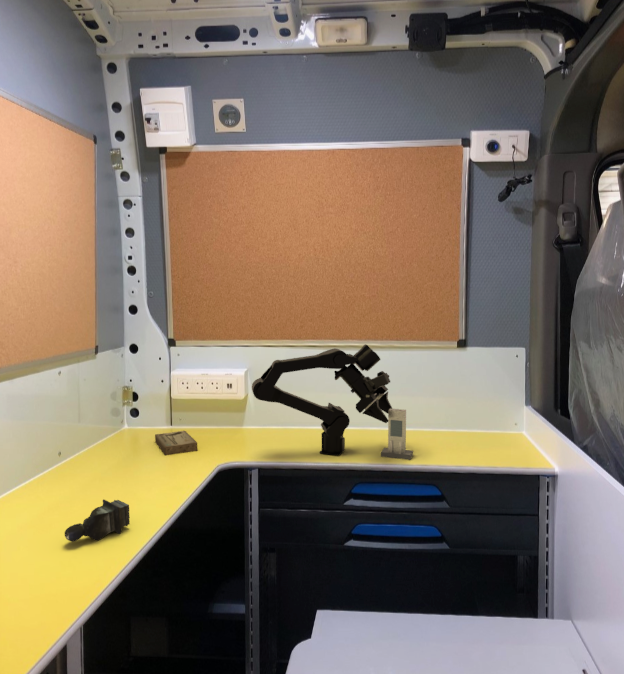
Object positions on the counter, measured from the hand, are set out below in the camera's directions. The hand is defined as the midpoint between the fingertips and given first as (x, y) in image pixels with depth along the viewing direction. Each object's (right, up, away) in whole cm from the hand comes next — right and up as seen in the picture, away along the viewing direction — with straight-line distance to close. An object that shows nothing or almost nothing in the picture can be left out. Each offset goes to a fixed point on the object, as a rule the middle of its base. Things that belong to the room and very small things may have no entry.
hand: (390, 418), depth 166 cm
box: (-69, -12, +12) cm, 72 cm away
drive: (+2, -10, 0) cm, 10 cm away
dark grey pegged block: (+2, -12, +1) cm, 12 cm away
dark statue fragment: (-69, -17, -52) cm, 88 cm away
